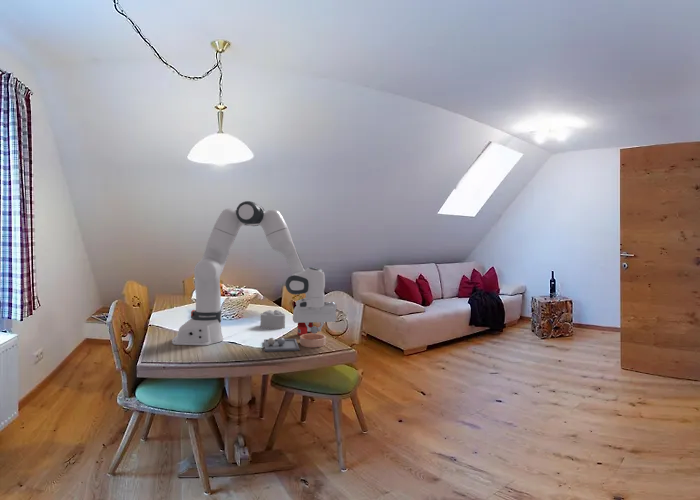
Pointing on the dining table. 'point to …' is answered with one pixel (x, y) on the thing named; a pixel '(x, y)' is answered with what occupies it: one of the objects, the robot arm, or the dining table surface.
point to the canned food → (304, 328)
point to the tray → (281, 346)
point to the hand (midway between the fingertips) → (314, 331)
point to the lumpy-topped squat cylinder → (272, 320)
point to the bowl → (312, 340)
